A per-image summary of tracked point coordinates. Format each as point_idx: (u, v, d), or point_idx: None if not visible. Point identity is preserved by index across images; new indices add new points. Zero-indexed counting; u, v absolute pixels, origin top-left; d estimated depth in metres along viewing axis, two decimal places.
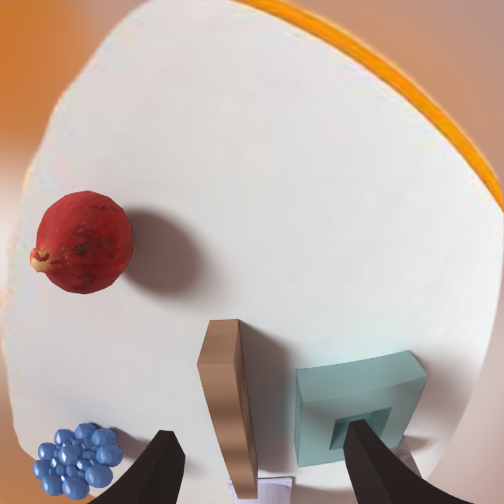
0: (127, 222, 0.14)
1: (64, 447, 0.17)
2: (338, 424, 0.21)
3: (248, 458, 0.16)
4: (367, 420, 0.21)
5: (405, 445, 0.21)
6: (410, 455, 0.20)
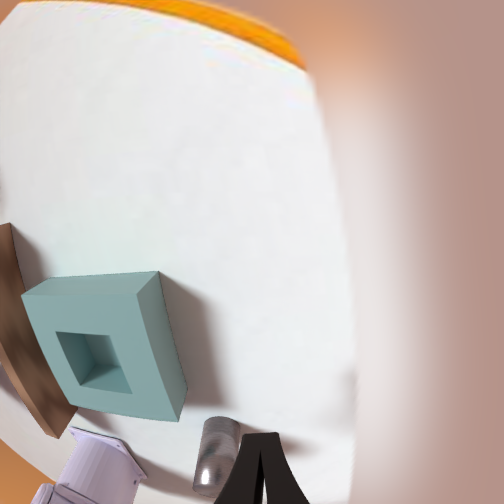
0: None
1: None
2: (110, 366, 0.18)
3: (8, 359, 0.14)
4: None
5: (228, 435, 0.18)
6: (227, 450, 0.17)
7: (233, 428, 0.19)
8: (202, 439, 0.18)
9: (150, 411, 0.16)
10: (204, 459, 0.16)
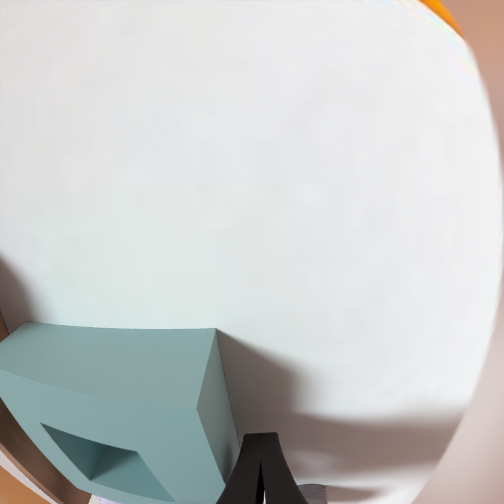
0: None
1: None
2: None
3: None
4: None
5: None
6: None
7: (322, 495, 0.12)
8: None
9: None
10: None
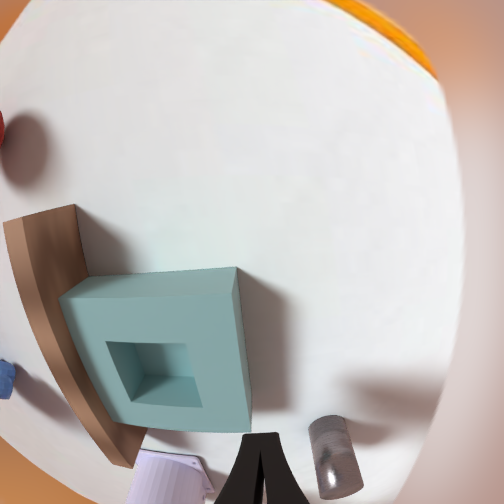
0: None
1: None
2: (164, 376, 0.17)
3: (76, 386, 0.12)
4: None
5: (343, 433, 0.17)
6: (348, 448, 0.15)
7: (344, 425, 0.18)
8: (316, 442, 0.17)
9: (220, 424, 0.14)
10: (329, 461, 0.14)
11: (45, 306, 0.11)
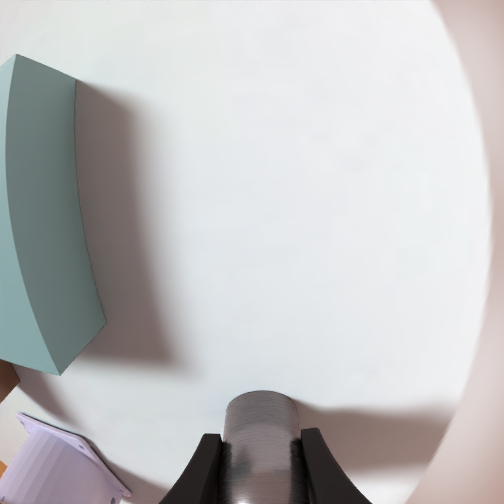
0: None
1: None
2: None
3: None
4: None
5: (283, 428, 0.09)
6: (288, 461, 0.07)
7: (290, 413, 0.10)
8: (227, 440, 0.09)
9: (16, 344, 0.06)
10: (237, 486, 0.06)
11: None
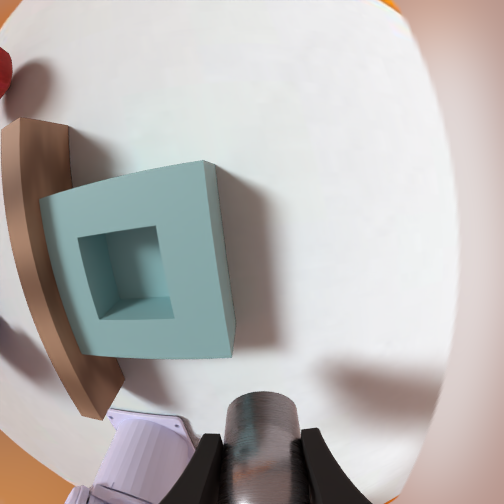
0: (7, 58, 0.09)
1: None
2: (139, 299, 0.16)
3: (43, 296, 0.12)
4: None
5: (283, 428, 0.09)
6: (288, 462, 0.07)
7: (289, 413, 0.10)
8: (227, 441, 0.09)
9: (195, 344, 0.14)
10: (237, 486, 0.06)
11: (25, 201, 0.11)
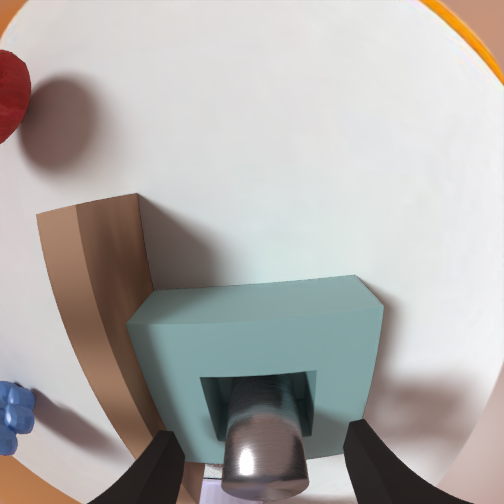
0: (23, 71, 0.07)
1: None
2: None
3: (150, 436, 0.10)
4: (297, 402, 0.14)
5: (278, 380, 0.11)
6: (282, 405, 0.10)
7: None
8: (232, 394, 0.11)
9: (323, 449, 0.12)
10: (240, 426, 0.09)
11: (111, 340, 0.08)
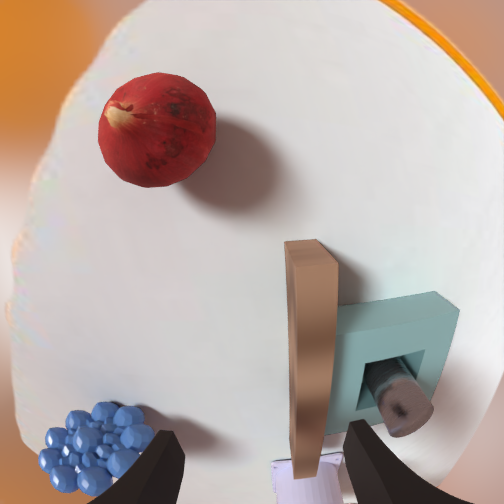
0: None
1: (80, 430, 0.15)
2: (362, 383, 0.20)
3: (326, 414, 0.15)
4: None
5: (398, 359, 0.17)
6: (408, 372, 0.15)
7: None
8: (372, 373, 0.17)
9: None
10: (392, 387, 0.14)
11: None
